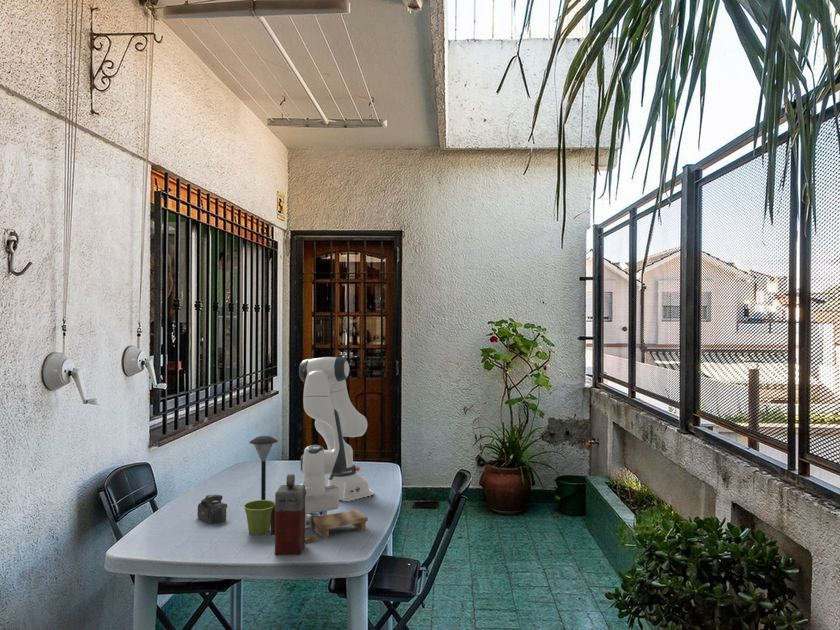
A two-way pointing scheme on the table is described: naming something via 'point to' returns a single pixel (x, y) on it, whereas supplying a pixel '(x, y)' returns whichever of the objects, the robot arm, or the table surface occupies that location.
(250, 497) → the table surface
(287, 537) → the red grey canister
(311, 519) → the housing
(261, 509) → the plant pot
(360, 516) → the stand
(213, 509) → the camera
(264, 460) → the solar garden light
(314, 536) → the tan wooden block
